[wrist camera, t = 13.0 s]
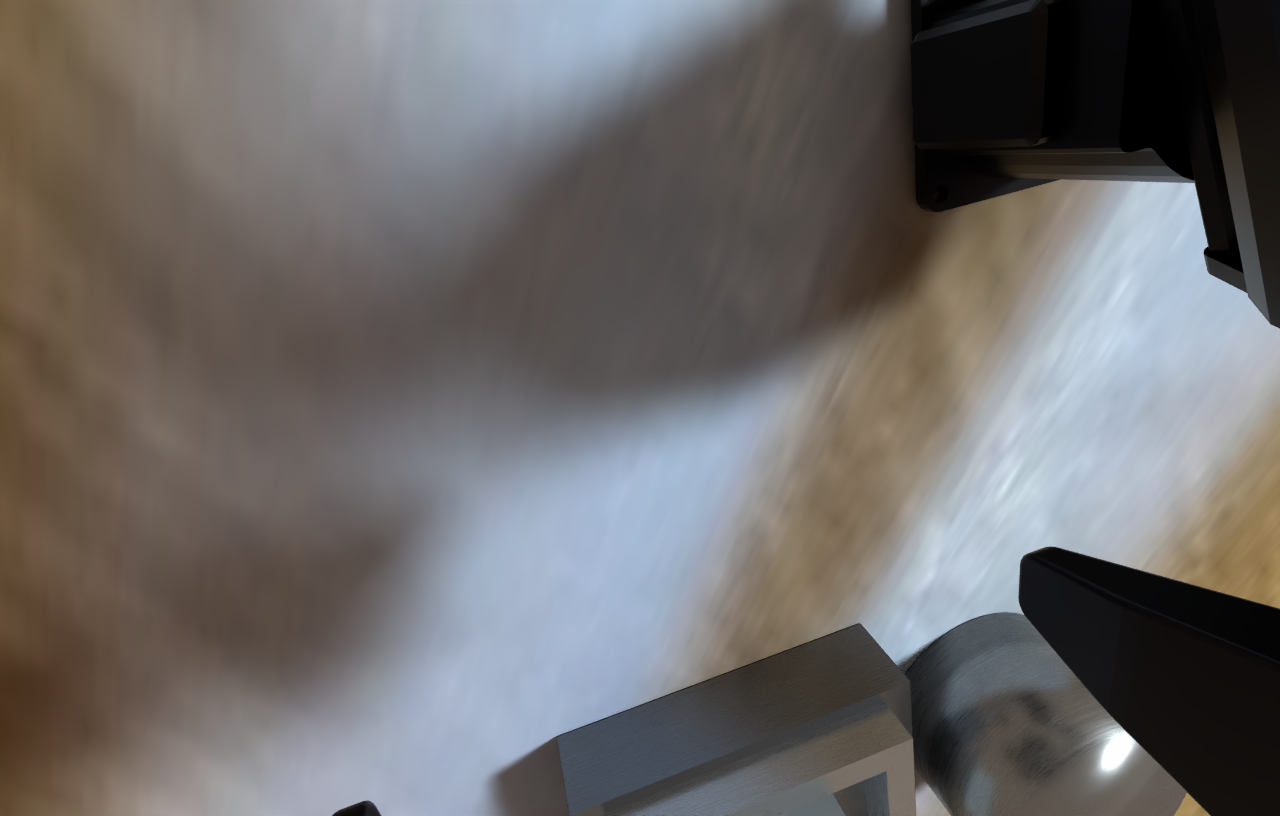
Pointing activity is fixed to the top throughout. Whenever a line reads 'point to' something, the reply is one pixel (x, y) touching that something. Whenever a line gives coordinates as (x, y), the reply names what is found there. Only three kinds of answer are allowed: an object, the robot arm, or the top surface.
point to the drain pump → (818, 808)
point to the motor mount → (873, 737)
